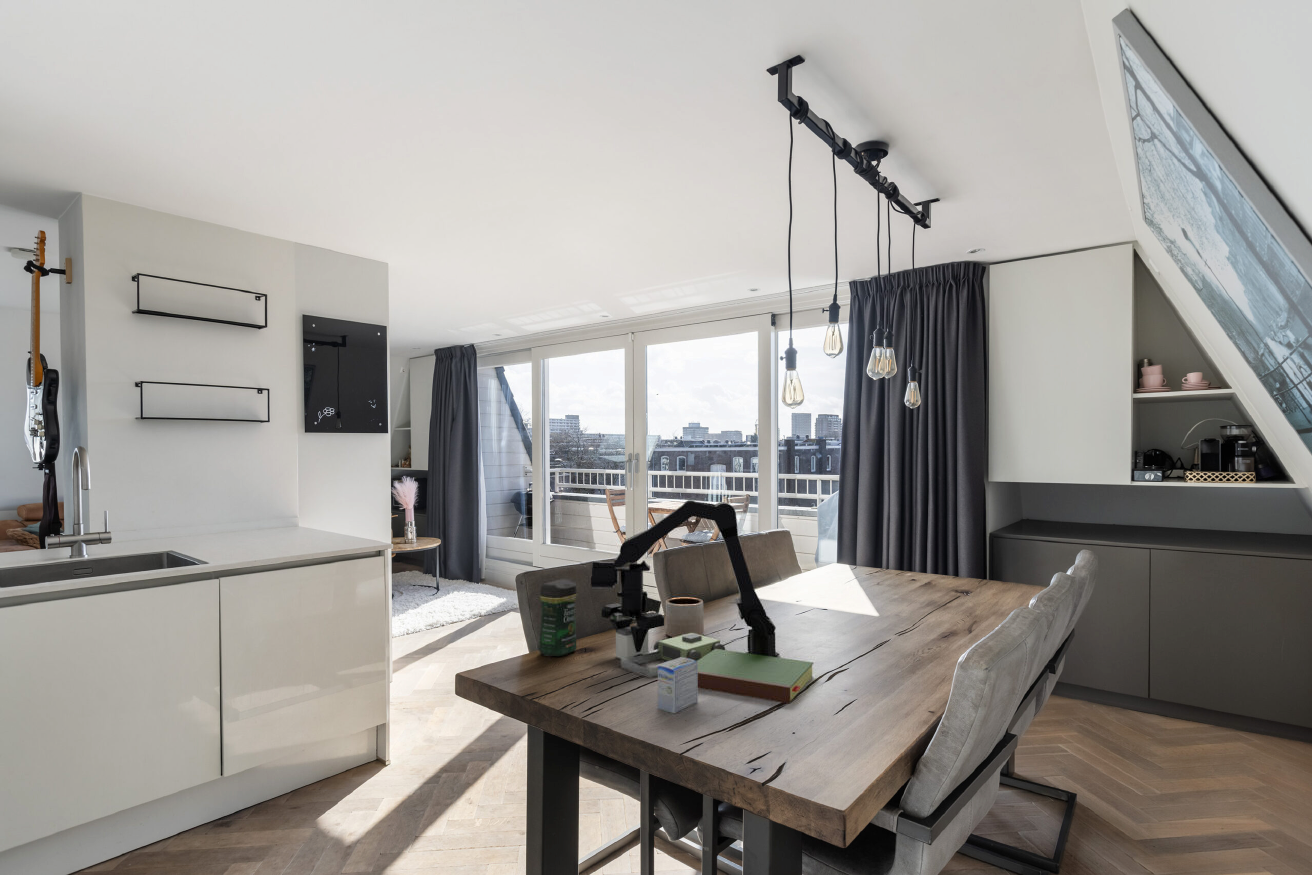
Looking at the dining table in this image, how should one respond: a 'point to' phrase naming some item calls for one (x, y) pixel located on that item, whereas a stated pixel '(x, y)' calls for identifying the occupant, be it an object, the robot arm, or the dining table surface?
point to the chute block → (628, 643)
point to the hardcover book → (753, 675)
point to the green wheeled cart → (687, 646)
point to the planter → (684, 616)
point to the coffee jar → (558, 618)
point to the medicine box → (677, 684)
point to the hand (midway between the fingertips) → (632, 649)
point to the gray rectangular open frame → (636, 664)
